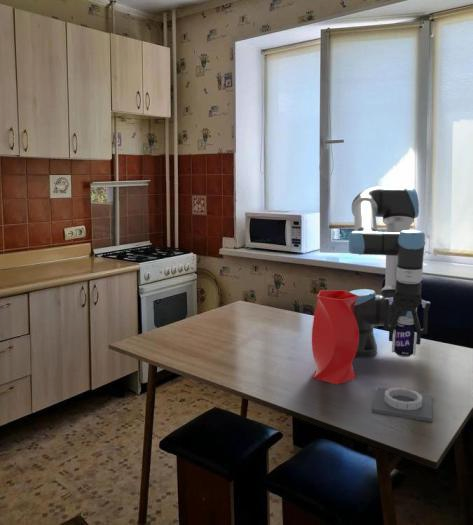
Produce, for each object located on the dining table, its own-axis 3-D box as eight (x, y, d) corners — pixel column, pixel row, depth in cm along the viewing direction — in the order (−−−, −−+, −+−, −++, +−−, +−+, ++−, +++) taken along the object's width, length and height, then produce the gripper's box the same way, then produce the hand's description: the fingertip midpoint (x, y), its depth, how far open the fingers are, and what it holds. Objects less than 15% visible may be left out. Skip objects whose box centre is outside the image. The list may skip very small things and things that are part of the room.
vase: (321, 364, 180) (324, 287, 175) (362, 371, 173) (366, 292, 168) (307, 379, 167) (310, 297, 162) (350, 388, 160) (354, 302, 155)
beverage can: (391, 351, 162) (393, 316, 160) (408, 351, 163) (411, 315, 161) (398, 358, 157) (400, 321, 155) (416, 358, 157) (418, 321, 155)
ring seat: (371, 412, 144) (372, 402, 144) (377, 389, 159) (377, 380, 159) (431, 422, 139) (432, 411, 138) (431, 398, 154) (432, 388, 153)
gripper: (376, 281, 155) (372, 352, 160) (441, 286, 148) (435, 360, 153) (378, 275, 162) (374, 344, 166) (441, 280, 155) (435, 351, 160)
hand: (403, 352), depth 160 cm, fingers closed on beverage can, 6 cm apart
